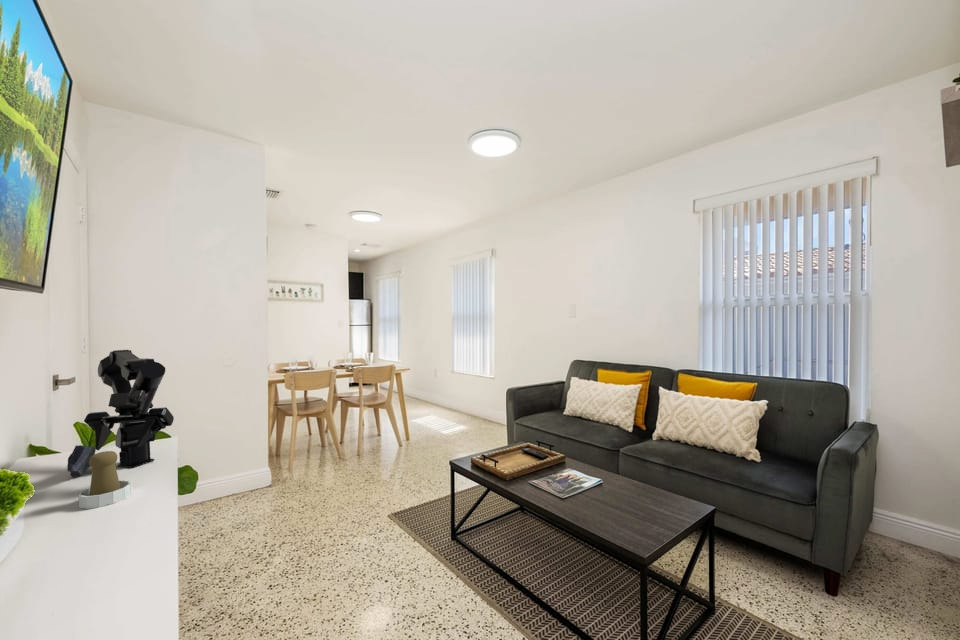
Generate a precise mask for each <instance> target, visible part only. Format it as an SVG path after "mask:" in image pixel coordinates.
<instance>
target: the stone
mask: <svg viewBox="0 0 960 640" xmlns="http://www.w3.org/2000/svg"><path fill="white" fill-rule="evenodd" d="M96 451H97V450H96V449H95V446H89V445H81V444H80V445H79V444H78V445H75V446H74V449H73V451H72V452H71V453H70V454H69V456H68V458H67V465H66V471H67V472H69V473H70V476H71V477H82V476H83V475H84V474H85V473H86V471H87V470H88V469H90V468H91V467H90V465H89V459H90V458H91V456H93V455H94V454H96ZM81 475H82V476H81Z"/></svg>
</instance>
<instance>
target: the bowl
mask: <svg viewBox="0 0 960 640" xmlns="http://www.w3.org/2000/svg"><path fill="white" fill-rule="evenodd" d="M119 483H120V488H121V489H118V490H116V491H113V492H109V493H105V494H101V495H94V496H89V494H90V486H89V487H87V488H85V489H83V490H81V491H80V492H78V503H79V504H78V505H79V506H78V507H79V508H80V509H84V510H85V509H87V510H89V509H96V508H102V507H105V506H104V505H106V506H108V505H107V504H110V505H113V504H112V503H114V504H116V503H119V502H121V501H124V500H126V499H127V498H129V497H131V496H132V484H131V481H130V480H125V479H121V480H120V479H119ZM128 496H129V497H128ZM125 498H126V499H125ZM123 499H124V500H123ZM118 501H119V502H118ZM115 502H116V503H115Z"/></svg>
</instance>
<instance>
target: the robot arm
mask: <svg viewBox="0 0 960 640" xmlns="http://www.w3.org/2000/svg"><path fill="white" fill-rule="evenodd" d="M166 371H167V370H166V366H164V365H163V364H161V363H160V362H157V361H155V358H140V357H139V356H137V355H135V354H134V353H133V352H132V350H130V349H118V350H112V351H110V352H109V355H107V356H106V357H104V358H102V359H101V360H100V361H99V364H98V367H97V376H98V378H100V379H101V381H102V383H103V384H104V385H106V386H108V387H111V390H112V392H113V393H112V394H110V398H109V402H108V407H110V408H111V407H112V408H115V409H114V412H115V413H116V414H118V415H110V414H109V413H108V412H107V411H95V412H93V411H92V412H89V413H87V414H86V416H85V417H84V420H83V422H84V423H85V424H86V425H87V426H88V427H89V428H90V429H91V430H93V431H94V432H95V440H94V441H95V442H94V443H95V445H94V448H95V449H96V451H100V450H101V449H102V447H104V445H105V443H106V442H107V439H108V438H109V437H110V435H111V434H112V432H113V431H112V429H113V428H114V426H115V424H119V426H118V428H117V431H116V435H115V437H114V443H115V446H116V448H118V449H120V451H119V457H118V458H119V463H118V464H117V467H123V468H135V467H139V466H141V465H145V464H148V463H150V462H153V461H155V458H152V457H151V443H152V442H155V440H156V434H157V433H159V432H160V431H161V430H163V429H166V427H171V426H172V425H173V423H174V420H175V419H174V415H173V414H172V412H171V411H170V410H169V409H168V408H167V407H166V406H165V407H154V404H153V403H152V402H153V400H154V397H155V395H156V393H157V391H158V388H159V385H160V384H161V382H162V380H163V377H164V375H165V373H166ZM131 381H134V382H133V385H131ZM153 407H154V408H153Z"/></svg>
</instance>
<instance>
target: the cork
mask: <svg viewBox="0 0 960 640" xmlns="http://www.w3.org/2000/svg"><path fill="white" fill-rule="evenodd" d="M118 458H119V457H118V454H117V452H116V451H113V450H105V451H101V452H97V453H95V454H94V455H93V456H91V458H90V459H89V465H90V468H92V470H91V479H90V486H89V487H90V494H89V496H94V495H101V494H105V493H109V492H113V491H116V490H118V489H121V488H120V483H119V481H120V479H119V476H118V471H117V468H116V463H117V461H118Z"/></svg>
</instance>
